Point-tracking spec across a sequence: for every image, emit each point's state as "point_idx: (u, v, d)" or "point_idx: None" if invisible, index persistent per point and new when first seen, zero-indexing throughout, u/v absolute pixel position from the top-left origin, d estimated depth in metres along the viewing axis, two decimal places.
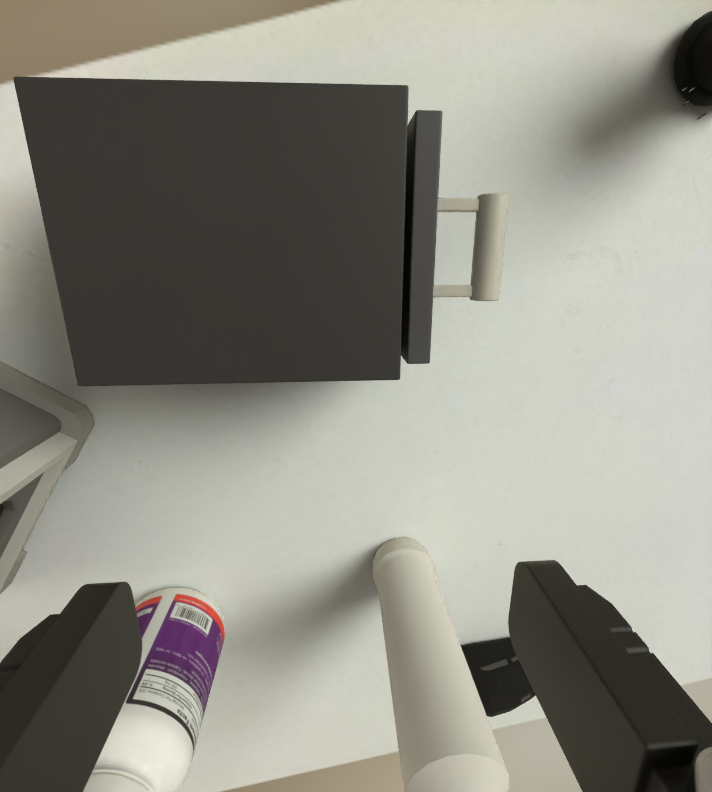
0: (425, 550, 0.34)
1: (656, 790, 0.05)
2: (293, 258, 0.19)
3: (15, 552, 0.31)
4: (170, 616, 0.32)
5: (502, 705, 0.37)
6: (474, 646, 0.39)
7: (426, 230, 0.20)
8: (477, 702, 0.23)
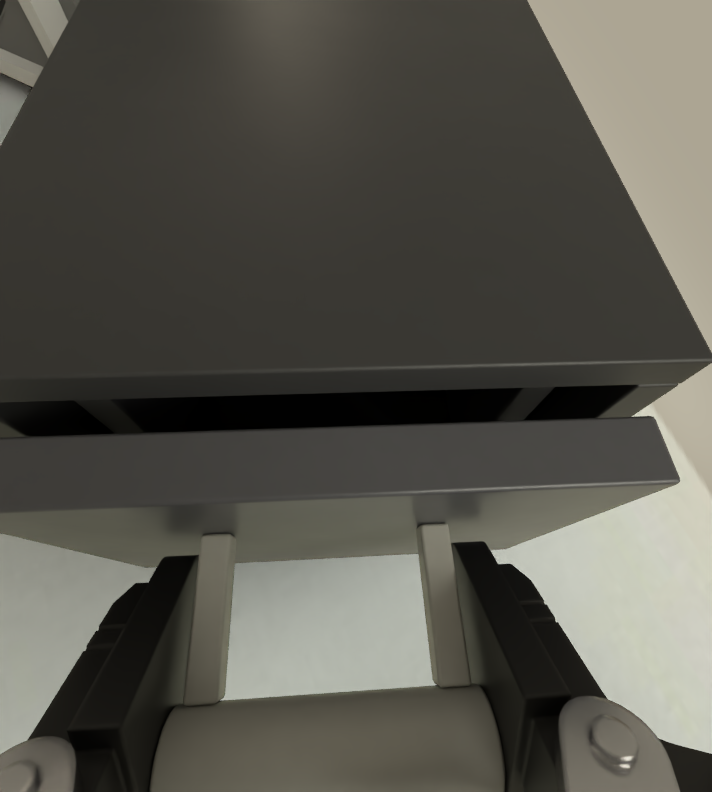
0: None
1: (535, 737, 0.06)
2: (293, 158, 0.09)
3: None
4: None
5: None
6: None
7: (371, 464, 0.07)
8: None
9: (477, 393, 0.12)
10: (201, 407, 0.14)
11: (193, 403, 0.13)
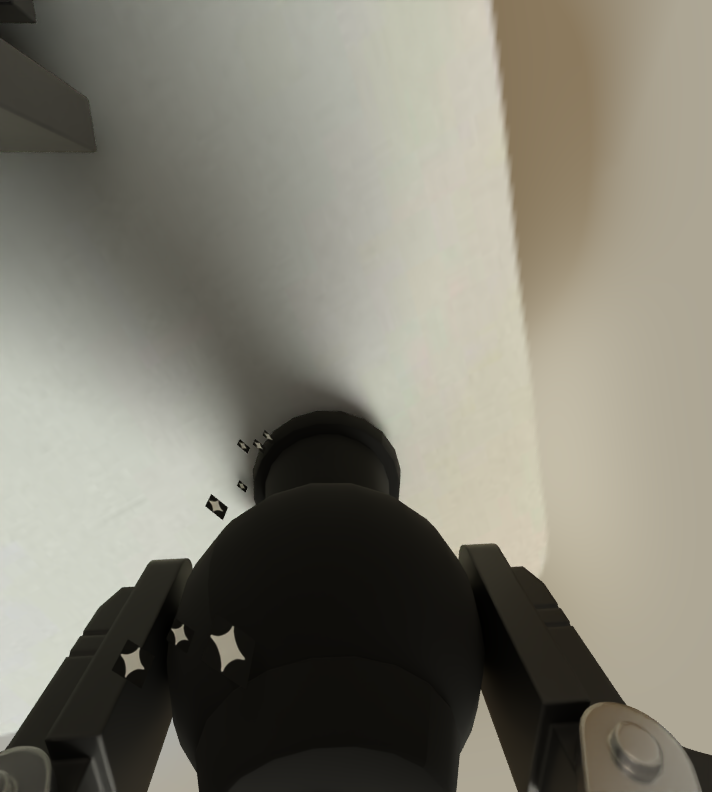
0: None
1: (554, 744, 0.06)
2: None
3: None
4: None
5: None
6: None
7: None
8: None
9: None
10: None
11: None
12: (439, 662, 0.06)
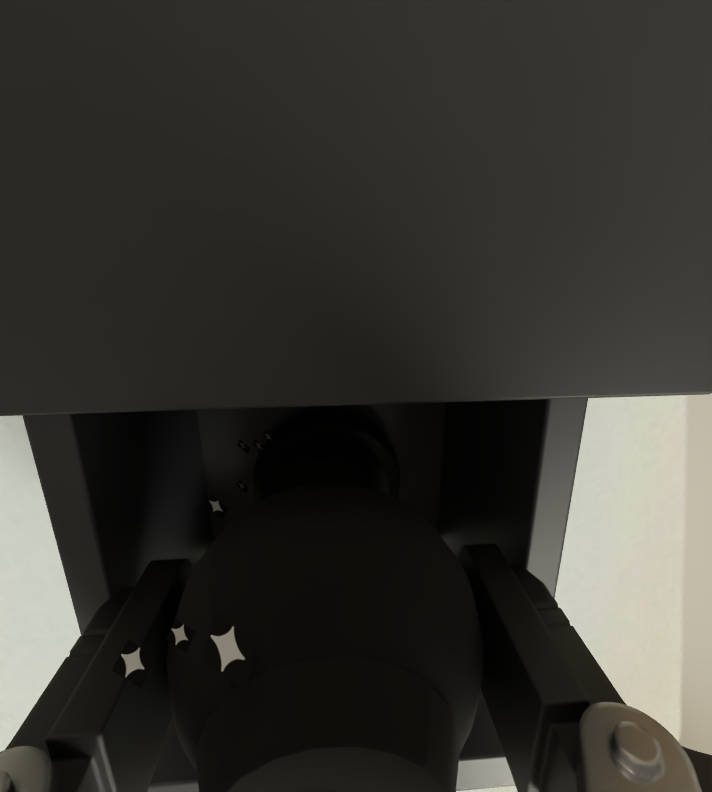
0: None
1: (554, 743, 0.06)
2: None
3: None
4: None
5: None
6: None
7: None
8: None
9: None
10: (207, 495, 0.15)
11: (202, 514, 0.14)
12: (439, 663, 0.06)
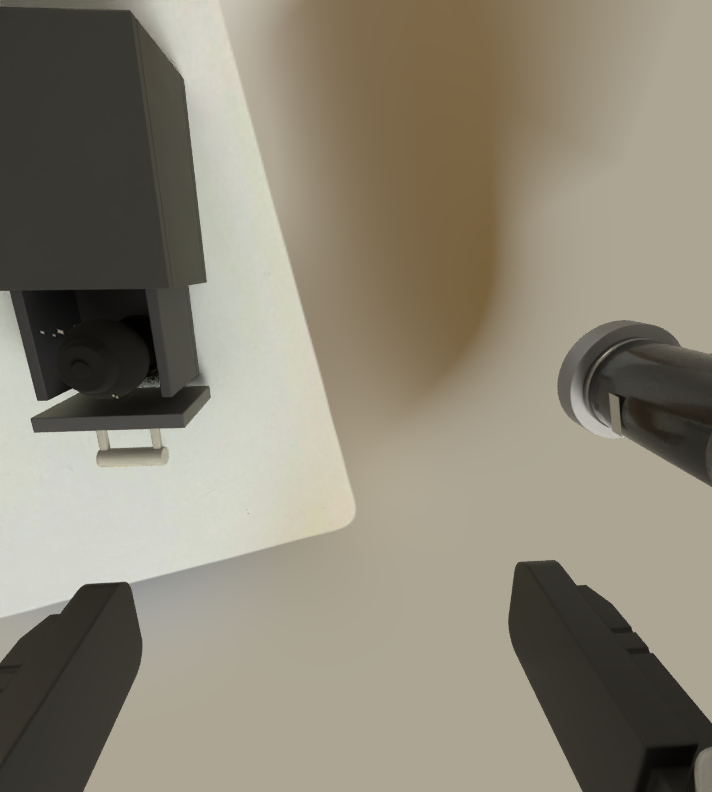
0: None
1: (656, 790, 0.05)
2: (49, 209, 0.27)
3: None
4: None
5: None
6: None
7: (119, 424, 0.33)
8: None
9: None
10: None
11: None
12: (111, 344, 0.29)
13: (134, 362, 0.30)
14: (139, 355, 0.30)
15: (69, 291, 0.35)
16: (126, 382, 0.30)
